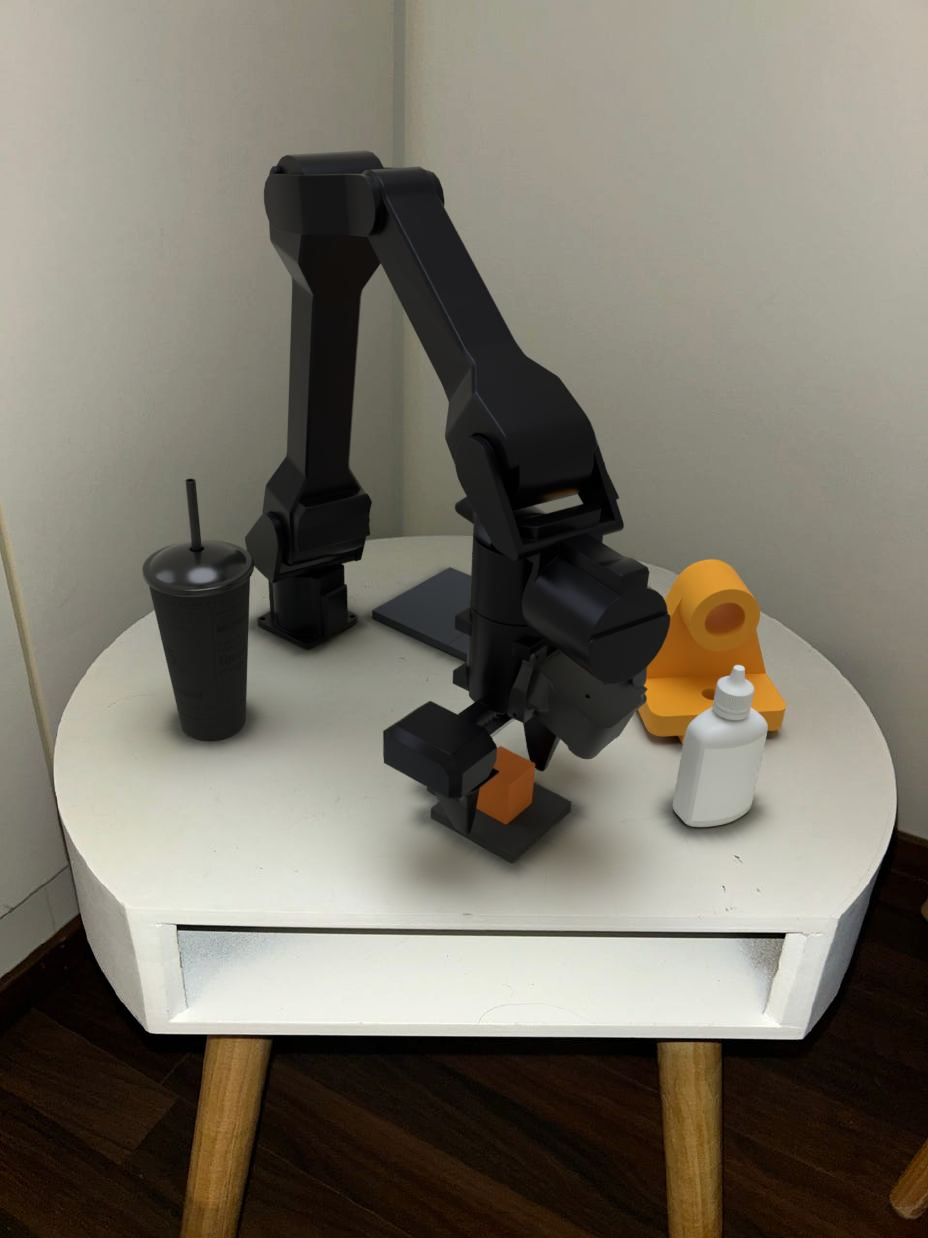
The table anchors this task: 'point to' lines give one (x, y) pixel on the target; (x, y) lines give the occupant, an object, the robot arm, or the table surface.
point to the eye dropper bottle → (721, 756)
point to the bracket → (706, 651)
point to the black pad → (516, 830)
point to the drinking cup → (203, 626)
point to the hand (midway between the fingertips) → (502, 798)
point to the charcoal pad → (432, 611)
